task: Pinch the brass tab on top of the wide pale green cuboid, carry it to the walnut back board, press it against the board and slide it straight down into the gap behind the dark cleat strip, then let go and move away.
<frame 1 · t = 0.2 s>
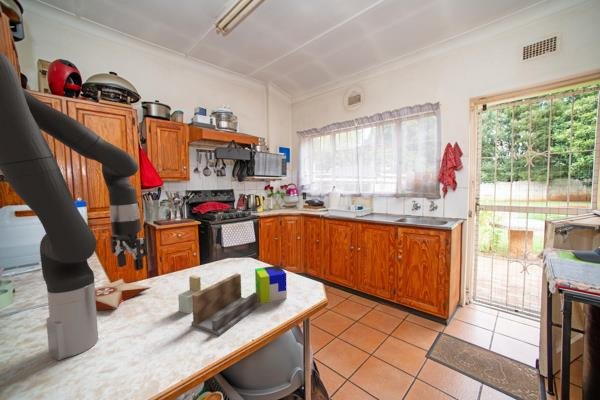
hand: (130, 267, 77), 18 cm above the table, tool pointing down, fingers open, 8 cm apart
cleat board: (228, 314, 81), on the table
wide pale green cuboid: (195, 306, 87), on the table
puzzle toy: (270, 296, 95), on the table
decorative star: (104, 301, 92), on the table
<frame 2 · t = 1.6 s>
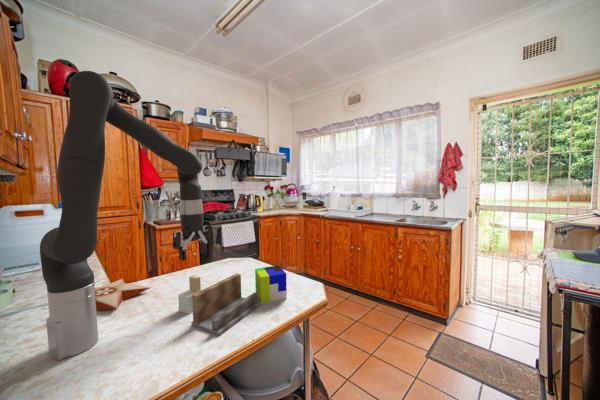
hand: (193, 256, 86), 18 cm above the table, tool pointing down, fingers open, 8 cm apart
nothing on the table moved.
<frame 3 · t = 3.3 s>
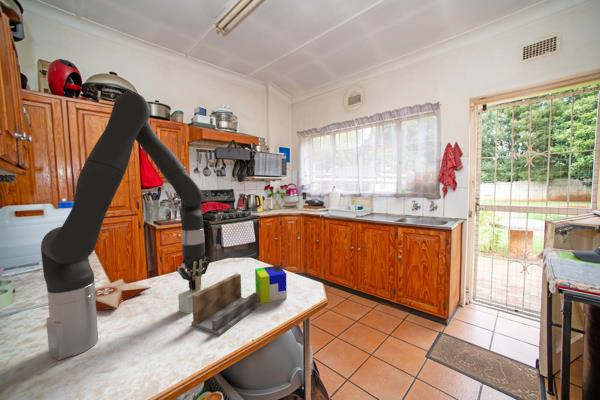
hand: (195, 288, 87), 7 cm above the table, tool pointing down, fingers closed on wide pale green cuboid
wide pale green cuboid: (195, 305, 87), on the table, touching gripper
everything else where it was.
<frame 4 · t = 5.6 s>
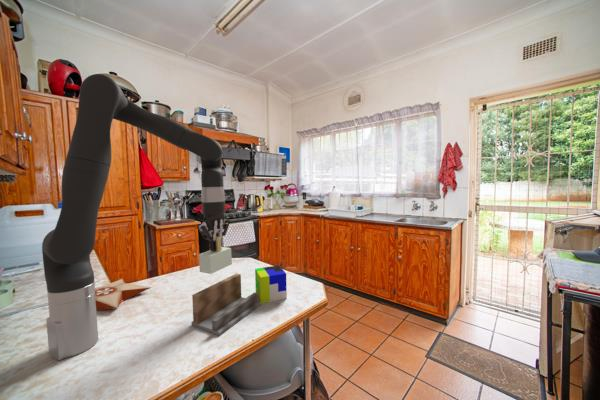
hand: (215, 249, 83), 22 cm above the table, tool pointing down, fingers closed on wide pale green cuboid
wide pale green cuboid: (216, 267, 83), point 15 cm above the table, touching gripper
everything else where it was.
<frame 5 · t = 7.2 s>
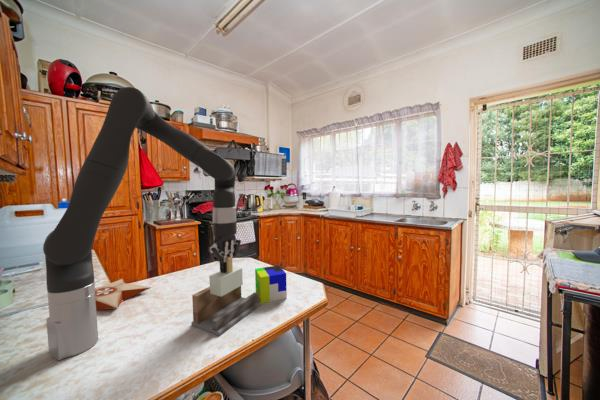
hand: (226, 271, 81), 15 cm above the table, tool pointing down, fingers closed on wide pale green cuboid
wide pale green cuboid: (226, 288, 81), point 9 cm above the table, touching gripper
everything else where it was.
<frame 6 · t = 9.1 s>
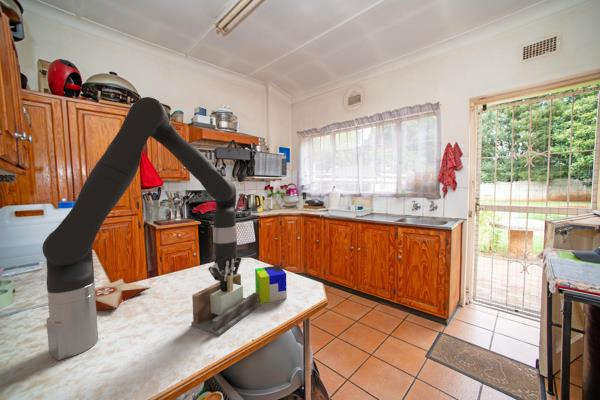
hand: (226, 289, 81), 9 cm above the table, tool pointing down, fingers closed on wide pale green cuboid
wide pale green cuboid: (227, 307, 81), point 2 cm above the table, touching gripper
everything else where it was.
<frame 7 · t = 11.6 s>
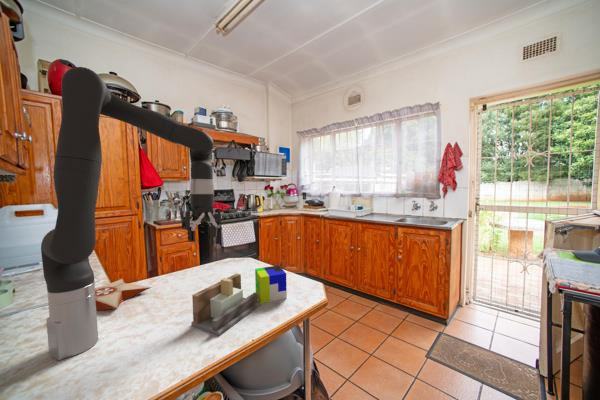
hand: (202, 239, 83), 25 cm above the table, tool pointing down, fingers open, 8 cm apart
wide pale green cuboid: (227, 311, 82), point 1 cm above the table, touching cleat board
everything else where it was.
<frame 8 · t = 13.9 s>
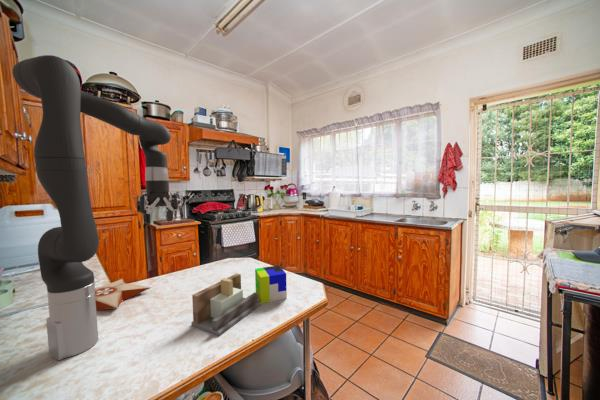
hand: (159, 222, 91), 30 cm above the table, tool pointing down, fingers open, 8 cm apart
nothing on the table moved.
at the end: wide pale green cuboid 0.4 cm off-centre on the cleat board, point 1.0 cm above the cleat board's base; wide pale green cuboid tilted 0°; the gripper is holding nothing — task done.
